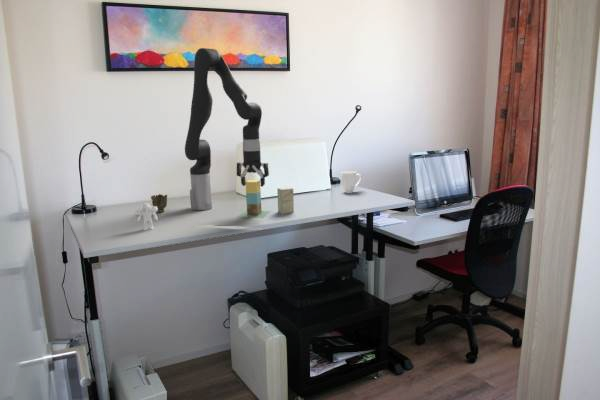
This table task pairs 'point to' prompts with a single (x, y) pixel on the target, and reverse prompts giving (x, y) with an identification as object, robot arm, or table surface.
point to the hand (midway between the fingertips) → (253, 185)
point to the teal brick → (253, 198)
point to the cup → (159, 202)
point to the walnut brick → (254, 209)
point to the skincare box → (285, 200)
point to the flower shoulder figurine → (147, 214)
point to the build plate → (254, 215)
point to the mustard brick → (253, 186)
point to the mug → (349, 180)
